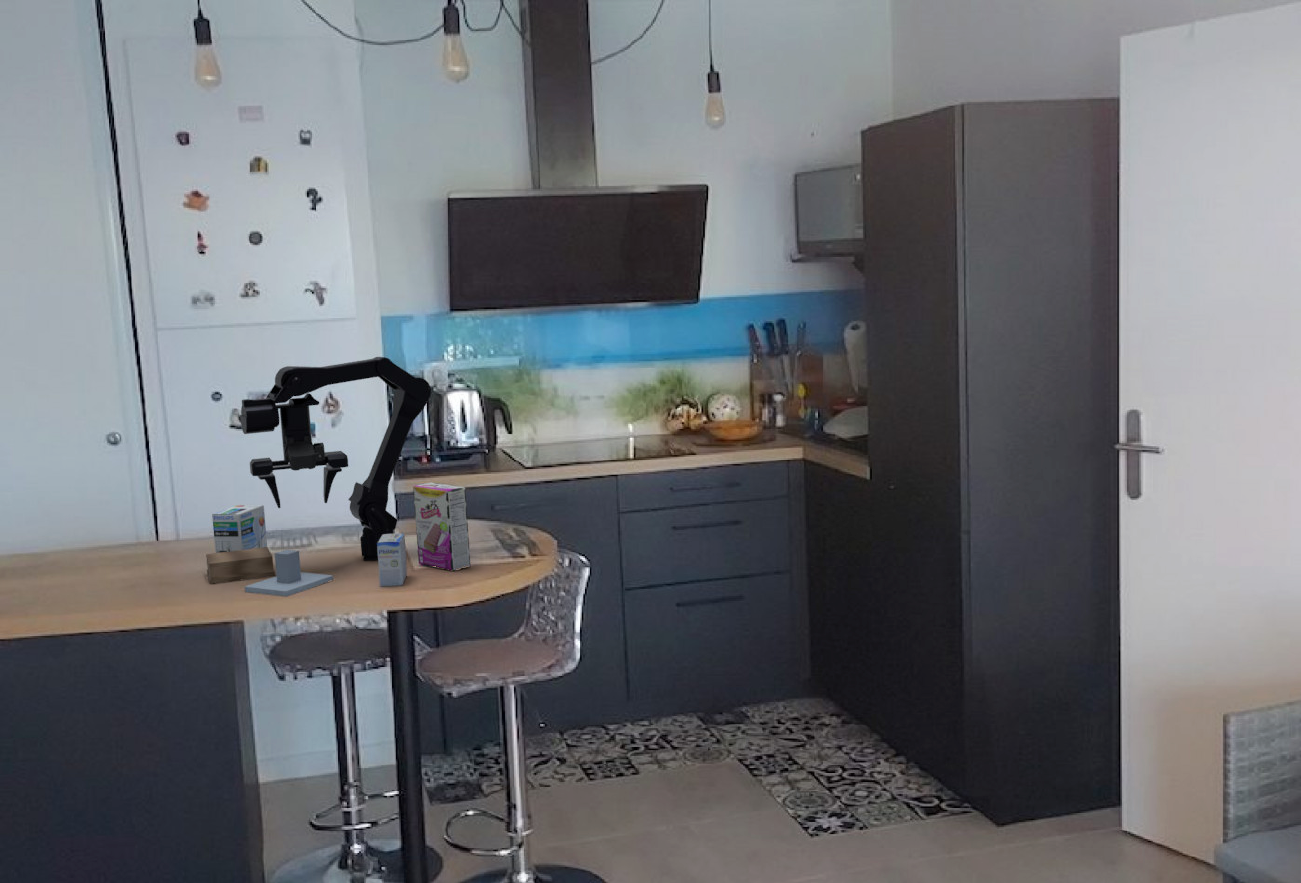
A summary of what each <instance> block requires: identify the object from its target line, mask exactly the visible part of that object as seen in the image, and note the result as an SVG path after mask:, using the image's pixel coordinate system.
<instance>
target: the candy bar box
mask: <svg viewBox="0 0 1301 883" xmlns="http://www.w3.org/2000/svg"><path fill="white" fill-rule="evenodd" d="M412 488H413V490H412V491H413V503H414V504H413V505H414V515H415V516H414V518H415V528H416V529H415V531H416V532H415V533H416V543H417V556H418V557H417V558H418V565H420V566H425V565H426V566H425V567H429V566H436V567H439V568H444V569H449V570H456V569H459V568H462V567H466V566H470V567H471V554H470V552H471V551H470V540H469V527H468V526H469V525H468V511H467V510H468V509H467V496H466V495H467V494H466V487H464V486H457V485H450V484H444V483H438V482H437V483H436V482H427V483H421V484H416V485H413V486H412ZM439 568H438V569H439ZM444 569H443V570H444ZM449 570H448V571H449Z"/></svg>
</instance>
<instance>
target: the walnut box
mask: <svg viewBox="0 0 1301 883" xmlns="http://www.w3.org/2000/svg"><path fill="white" fill-rule="evenodd" d="M205 555H206V556H205V557H206V566H207V569H206V573H207V574H206V575H207V577H208V581H209V584H210V585H213V583H215V584H221V583H227V582H229V583H230V582H237V581H236V580H238V581H242V580H241V579H246V580H251V579H252V580H253V579H259V578H260V577H261V578H267V576H269V577H275V576H274V575H276V571H275V569H274V559H273V555H272V553H271V551H270V549H269V547H268V546H267V547H263V548H254V549H246V550H238V551H229V552H221V553H216V552H215V553H213V552H212V553H207V554H205Z"/></svg>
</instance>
